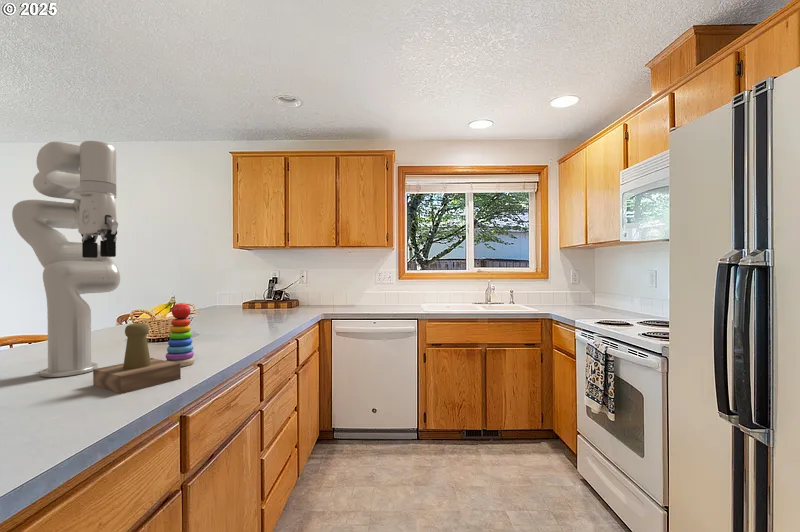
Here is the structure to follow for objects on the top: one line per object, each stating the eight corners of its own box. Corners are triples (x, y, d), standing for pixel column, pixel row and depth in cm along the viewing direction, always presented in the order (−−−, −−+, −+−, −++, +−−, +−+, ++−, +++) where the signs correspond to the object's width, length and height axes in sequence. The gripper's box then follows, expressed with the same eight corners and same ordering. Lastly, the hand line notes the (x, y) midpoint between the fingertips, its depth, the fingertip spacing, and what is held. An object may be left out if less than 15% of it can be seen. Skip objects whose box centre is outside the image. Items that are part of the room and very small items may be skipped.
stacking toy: (181, 368, 115) (181, 304, 115) (158, 367, 116) (157, 304, 117) (200, 362, 123) (200, 302, 123) (178, 361, 124) (178, 301, 124)
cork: (148, 362, 106) (148, 321, 106) (153, 366, 101) (152, 323, 101) (121, 366, 102) (121, 323, 102) (124, 370, 97) (124, 326, 97)
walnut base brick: (93, 385, 99) (93, 369, 99) (151, 372, 111) (151, 357, 111) (121, 393, 92) (121, 376, 92) (180, 378, 104) (180, 363, 104)
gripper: (65, 192, 103) (66, 257, 103) (97, 184, 94) (98, 256, 94) (99, 196, 109) (99, 258, 109) (131, 189, 101) (132, 256, 100)
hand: (98, 257), depth 102 cm, fingers open, 9 cm apart
